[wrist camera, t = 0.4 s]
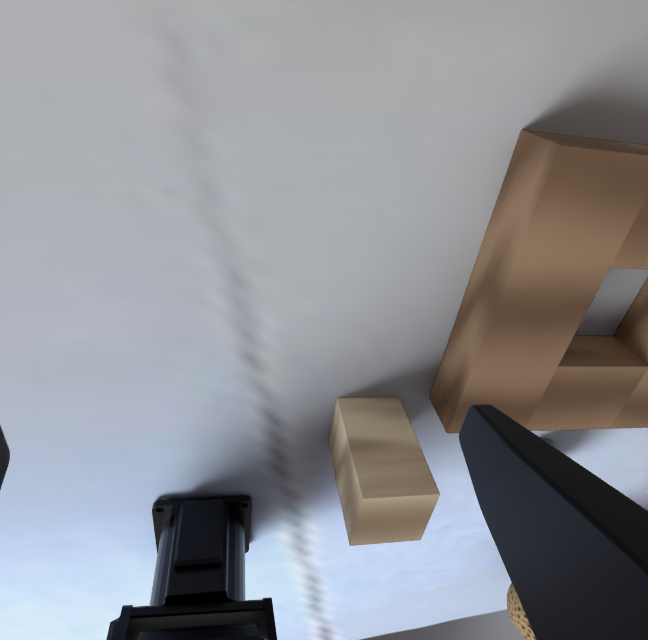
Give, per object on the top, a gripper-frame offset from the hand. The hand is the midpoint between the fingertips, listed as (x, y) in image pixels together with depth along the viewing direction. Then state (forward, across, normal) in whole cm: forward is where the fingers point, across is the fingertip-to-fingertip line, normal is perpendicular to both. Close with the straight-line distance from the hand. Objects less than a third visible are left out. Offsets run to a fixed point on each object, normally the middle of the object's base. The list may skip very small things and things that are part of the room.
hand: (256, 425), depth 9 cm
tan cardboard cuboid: (+14, -8, +14) cm, 21 cm away
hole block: (+13, -20, +4) cm, 24 cm away
